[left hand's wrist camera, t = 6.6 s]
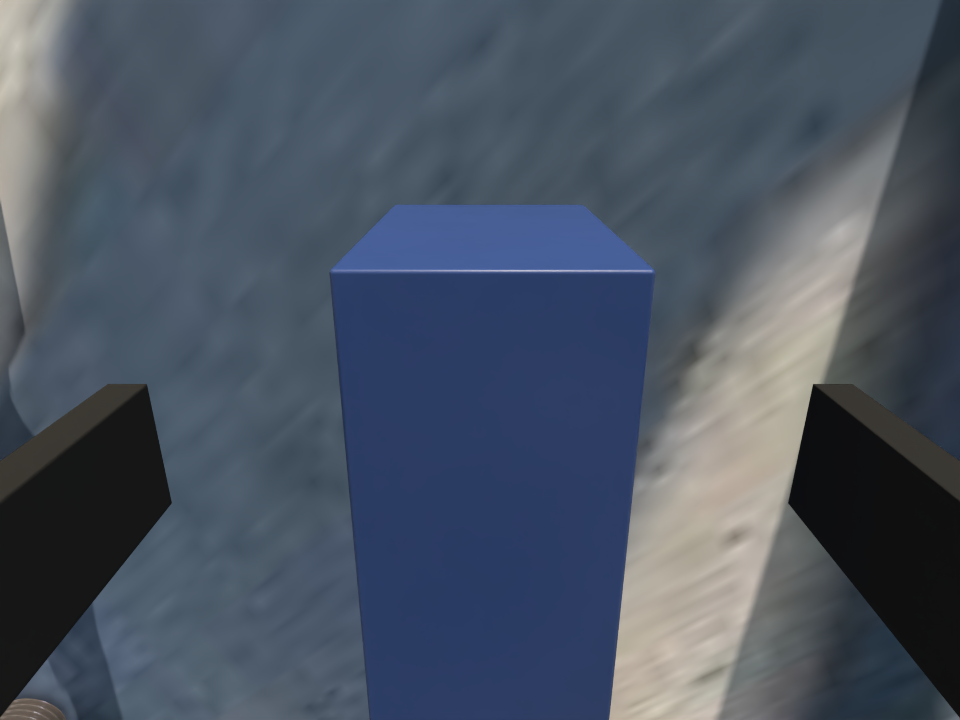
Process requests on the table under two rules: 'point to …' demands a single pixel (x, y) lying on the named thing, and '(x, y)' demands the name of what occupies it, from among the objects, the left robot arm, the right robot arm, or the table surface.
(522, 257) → the bar
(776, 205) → the table surface
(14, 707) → the light bulb
